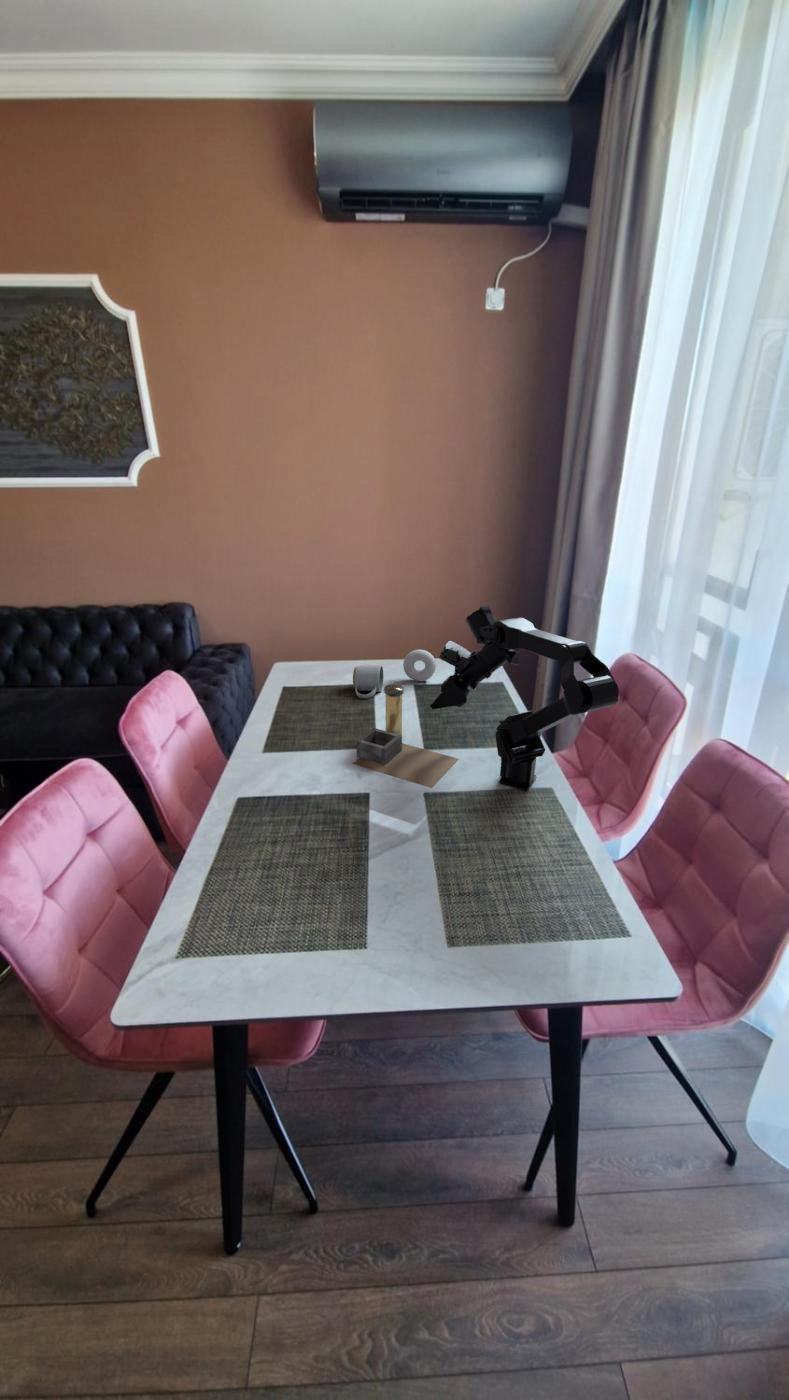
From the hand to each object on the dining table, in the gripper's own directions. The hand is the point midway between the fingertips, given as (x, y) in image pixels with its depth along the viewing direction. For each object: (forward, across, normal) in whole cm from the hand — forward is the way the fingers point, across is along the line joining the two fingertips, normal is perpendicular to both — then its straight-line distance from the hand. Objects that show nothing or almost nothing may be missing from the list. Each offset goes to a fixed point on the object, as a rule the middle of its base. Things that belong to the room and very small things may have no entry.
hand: (436, 699), depth 140 cm
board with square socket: (+12, +10, +6) cm, 17 cm away
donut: (+21, -40, -2) cm, 45 cm away
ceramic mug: (+29, -27, -10) cm, 41 cm away
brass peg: (+17, -1, +1) cm, 17 cm away
